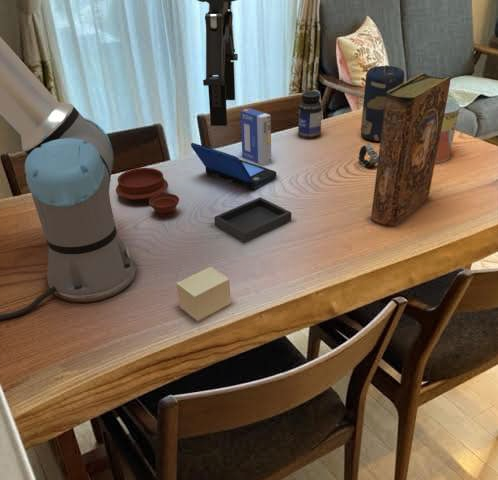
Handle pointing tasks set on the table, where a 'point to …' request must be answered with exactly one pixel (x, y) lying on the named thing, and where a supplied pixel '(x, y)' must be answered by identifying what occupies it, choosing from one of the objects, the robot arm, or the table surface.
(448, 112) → the canned food
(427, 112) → the book
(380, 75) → the canister
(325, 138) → the table surface
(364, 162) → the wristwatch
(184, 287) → the beige rectangular block
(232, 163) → the game console
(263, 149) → the walkman
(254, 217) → the dark grey tray
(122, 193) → the pottery
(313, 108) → the pill bottle
